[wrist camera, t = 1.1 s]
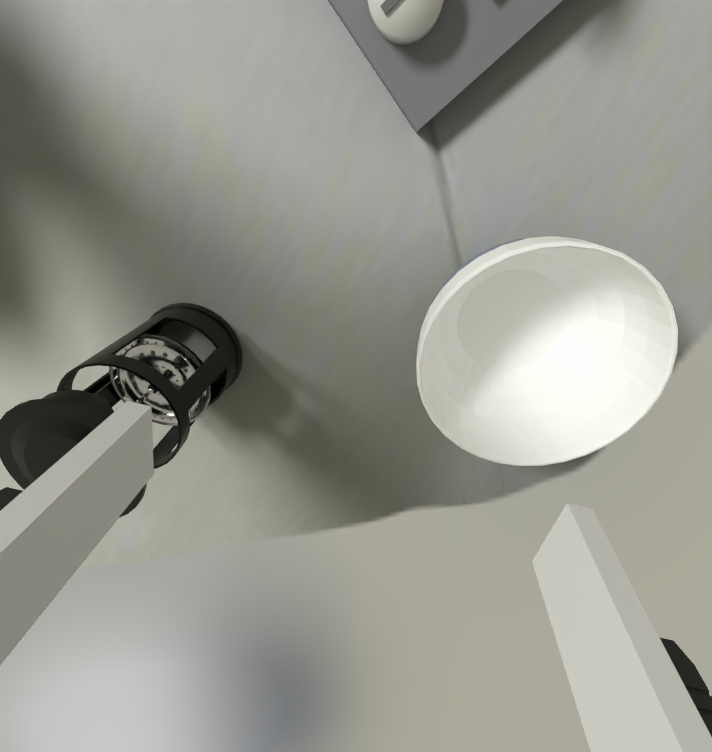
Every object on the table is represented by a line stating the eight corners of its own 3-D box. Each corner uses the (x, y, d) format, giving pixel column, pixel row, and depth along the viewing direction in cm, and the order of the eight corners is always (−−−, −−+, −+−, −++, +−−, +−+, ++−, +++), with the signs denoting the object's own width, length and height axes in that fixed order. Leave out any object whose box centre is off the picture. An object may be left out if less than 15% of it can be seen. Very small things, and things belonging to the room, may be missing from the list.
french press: (226, 291, 37) (12, 456, 17) (263, 383, 41) (125, 608, 21) (112, 317, 39) (-199, 491, 19) (157, 403, 43) (-60, 621, 23)
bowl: (649, 244, 32) (738, 276, 23) (560, 416, 39) (603, 487, 31) (443, 198, 32) (458, 213, 23) (394, 379, 39) (391, 440, 31)
